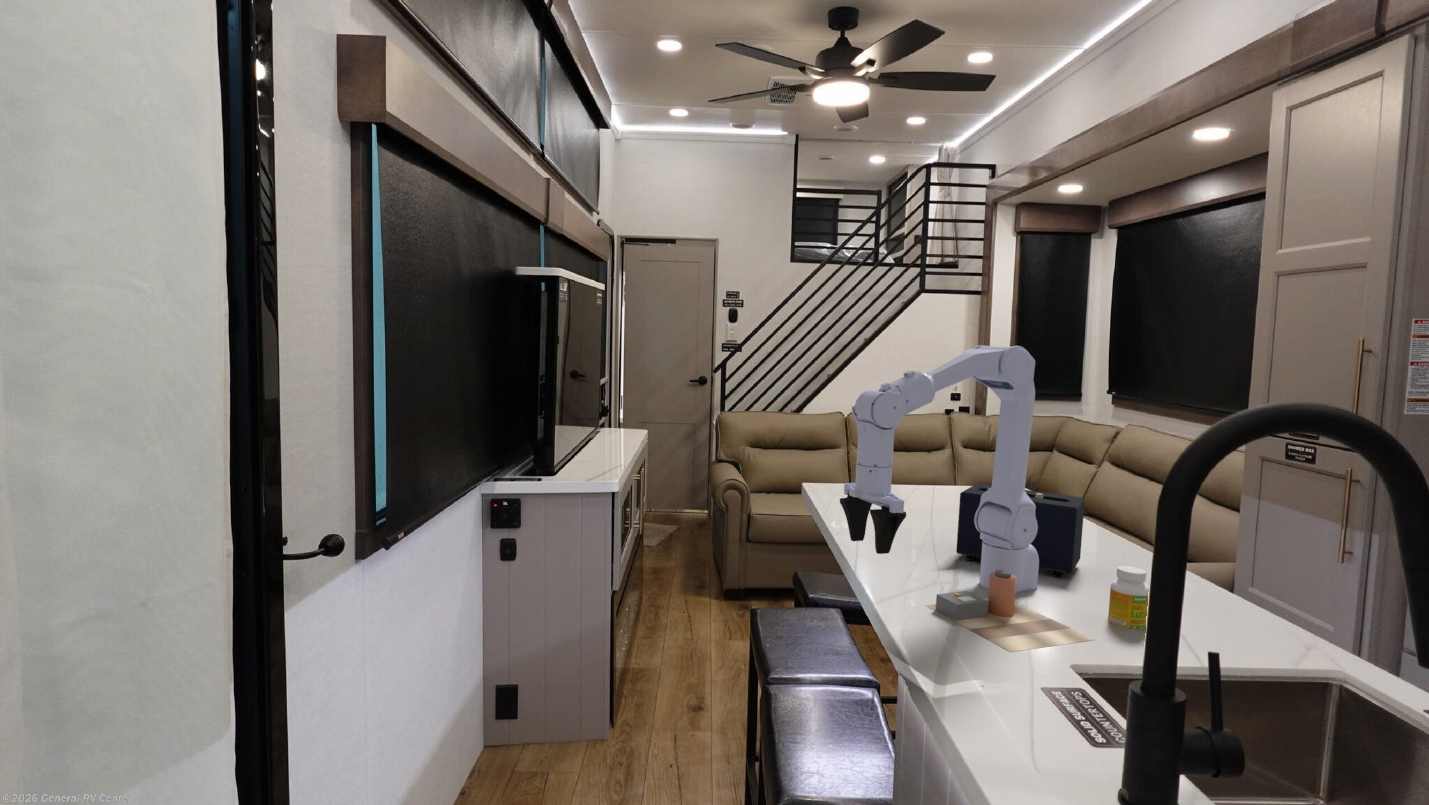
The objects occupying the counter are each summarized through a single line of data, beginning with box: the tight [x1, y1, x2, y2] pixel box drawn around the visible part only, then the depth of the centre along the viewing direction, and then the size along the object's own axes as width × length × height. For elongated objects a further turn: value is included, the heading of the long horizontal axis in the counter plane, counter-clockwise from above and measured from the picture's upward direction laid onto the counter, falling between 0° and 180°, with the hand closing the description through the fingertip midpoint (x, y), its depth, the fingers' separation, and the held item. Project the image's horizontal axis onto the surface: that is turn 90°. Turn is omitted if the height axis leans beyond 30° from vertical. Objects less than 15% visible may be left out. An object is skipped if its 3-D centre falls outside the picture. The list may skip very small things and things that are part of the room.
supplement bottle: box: [1107, 565, 1150, 630], centre depth 118 cm, size 5×5×10 cm
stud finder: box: [935, 590, 988, 621], centre depth 119 cm, size 6×5×3 cm
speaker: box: [955, 483, 1086, 578], centre depth 153 cm, size 22×13×15 cm, turn 58°
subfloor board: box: [925, 598, 1097, 653], centre depth 116 cm, size 16×19×1 cm
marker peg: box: [987, 570, 1017, 617], centre depth 120 cm, size 4×4×7 cm
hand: (869, 546), depth 123 cm, fingers open, 7 cm apart
